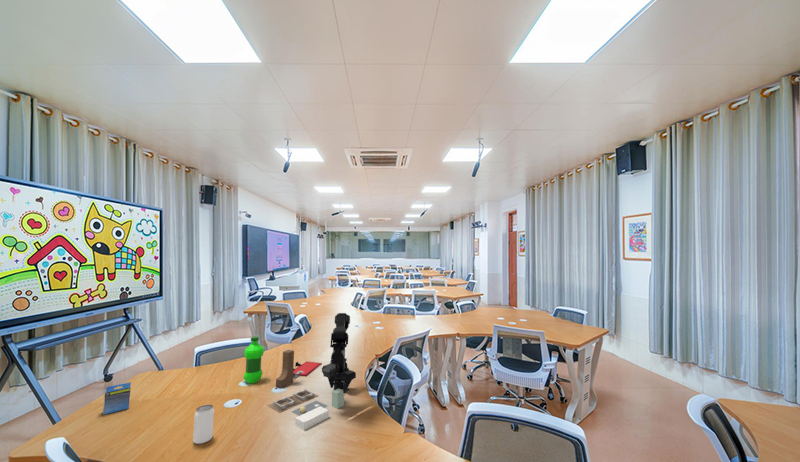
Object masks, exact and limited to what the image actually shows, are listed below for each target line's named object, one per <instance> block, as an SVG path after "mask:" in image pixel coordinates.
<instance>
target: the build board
mask: <svg viewBox="0 0 800 462" xmlns="http://www.w3.org/2000/svg"><path fill="white" fill-rule="evenodd" d="M318 397H319V395H318V394H316V393H314V392H313V391H310V390H308V389H303V390H301V391H299V392H295V393H293V394H292V395H291V396H285V397H283V398H281V399H278V400H275V401H272V403H271V404H268V405H267V407H268V408H270V409H271V410H273V411H275V412H277V413H278V414H282V413H283V412H285V411H288V410H290V409H292V408H295V407H297V406H300V405H302V404H304V403H306V402H309V401H311V400H314V399H315V398H318Z"/></svg>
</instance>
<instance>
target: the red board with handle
mask: <svg viewBox="0 0 800 462" xmlns="http://www.w3.org/2000/svg"><path fill="white" fill-rule="evenodd" d="M321 365H322V362H314V361H305V362H304V363H302V364H301V363H299V361H296V362H295V364H294V367H296V366H297V367H296V368H294V367H293V380H294V379H296V378H297V377H307V376H309V375H310V374H311V373H312V372H313V371H315V370H316V369H318V368H319V367H320V366H321Z"/></svg>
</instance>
